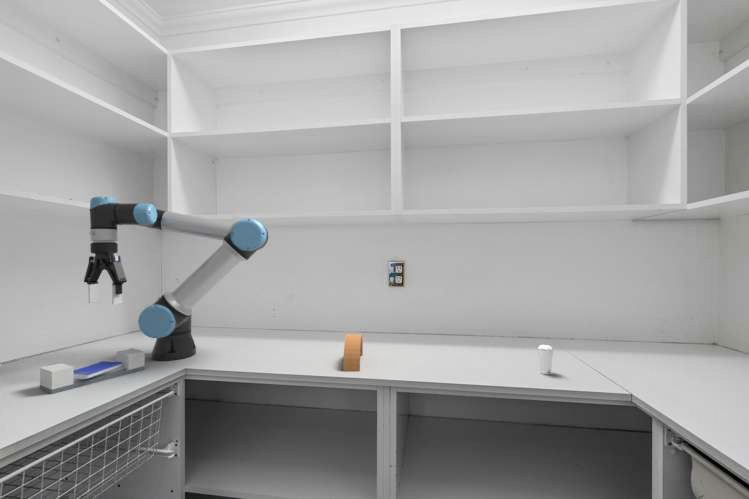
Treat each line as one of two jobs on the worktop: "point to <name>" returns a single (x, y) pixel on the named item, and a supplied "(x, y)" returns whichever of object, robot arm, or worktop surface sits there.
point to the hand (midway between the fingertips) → (105, 303)
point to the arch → (352, 352)
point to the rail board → (62, 377)
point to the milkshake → (545, 358)
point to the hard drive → (95, 369)
